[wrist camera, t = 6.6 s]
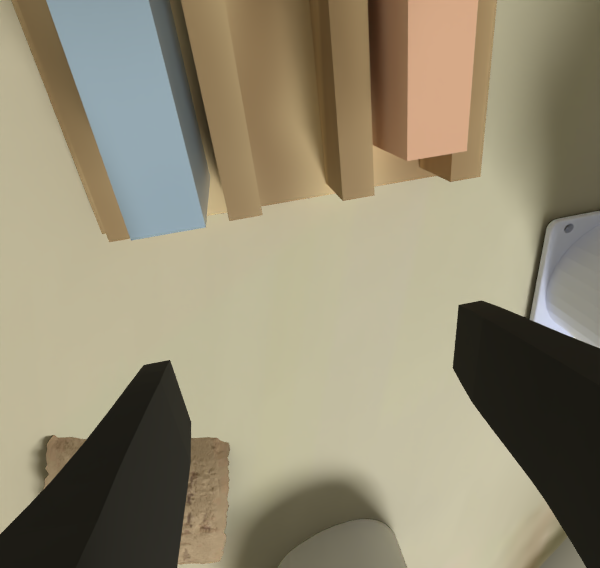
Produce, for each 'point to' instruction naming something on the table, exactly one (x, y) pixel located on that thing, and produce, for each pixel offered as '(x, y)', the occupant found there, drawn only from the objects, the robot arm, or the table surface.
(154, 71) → the pale blue block
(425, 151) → the wooden block
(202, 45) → the rack
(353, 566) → the lumpy-topped squat cylinder
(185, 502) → the robot arm
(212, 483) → the clay tablet
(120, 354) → the table surface
